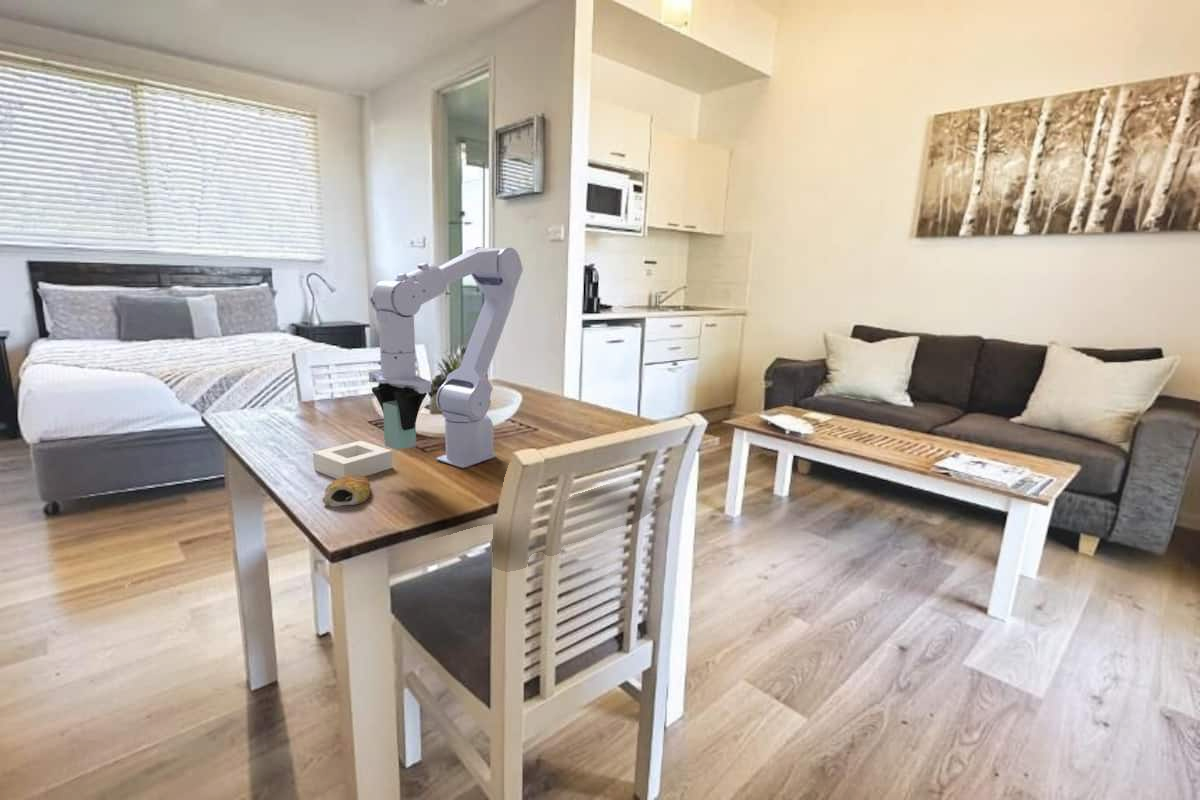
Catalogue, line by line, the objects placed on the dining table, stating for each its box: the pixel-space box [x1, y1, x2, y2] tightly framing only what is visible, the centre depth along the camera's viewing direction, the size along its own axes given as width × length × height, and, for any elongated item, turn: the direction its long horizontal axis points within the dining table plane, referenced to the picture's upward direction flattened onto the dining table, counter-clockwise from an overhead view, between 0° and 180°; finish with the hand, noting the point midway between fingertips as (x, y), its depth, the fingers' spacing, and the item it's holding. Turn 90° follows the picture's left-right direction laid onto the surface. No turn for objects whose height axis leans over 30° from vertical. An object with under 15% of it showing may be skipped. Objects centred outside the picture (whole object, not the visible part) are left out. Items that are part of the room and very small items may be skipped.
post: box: [382, 400, 417, 451], centre depth 101 cm, size 4×4×8 cm
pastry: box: [322, 475, 372, 507], centre depth 97 cm, size 9×7×4 cm
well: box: [312, 440, 394, 480], centre depth 109 cm, size 10×10×4 cm
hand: (400, 426), depth 102 cm, fingers closed on post, 4 cm apart
